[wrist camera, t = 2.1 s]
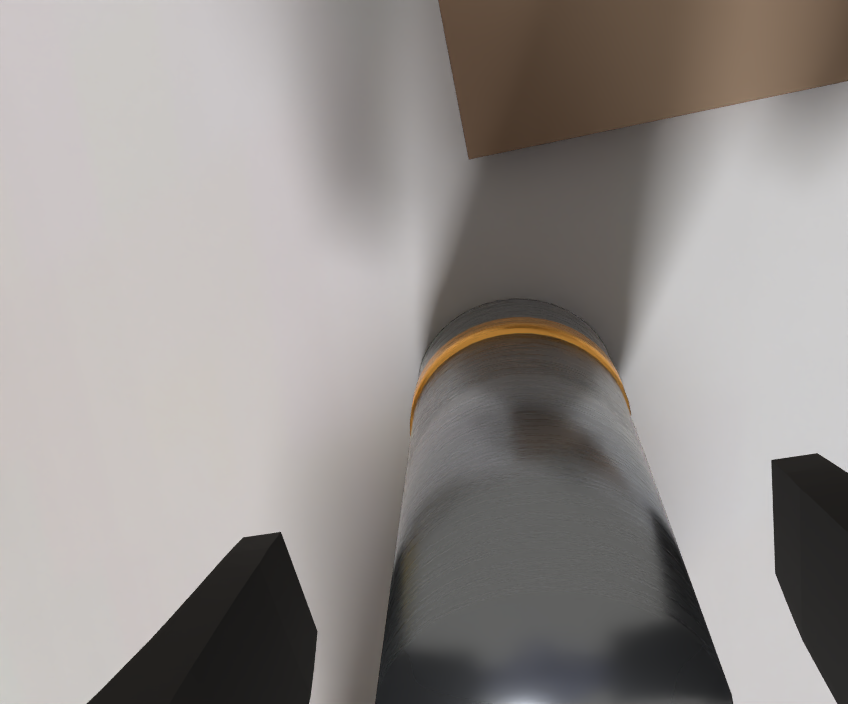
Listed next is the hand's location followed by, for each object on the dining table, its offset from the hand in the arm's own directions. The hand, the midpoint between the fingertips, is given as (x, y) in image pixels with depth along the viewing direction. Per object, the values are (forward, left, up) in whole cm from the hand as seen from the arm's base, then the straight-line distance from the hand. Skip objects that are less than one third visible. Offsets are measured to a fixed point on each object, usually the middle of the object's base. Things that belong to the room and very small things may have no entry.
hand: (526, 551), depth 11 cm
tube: (0, 0, -5) cm, 5 cm away
